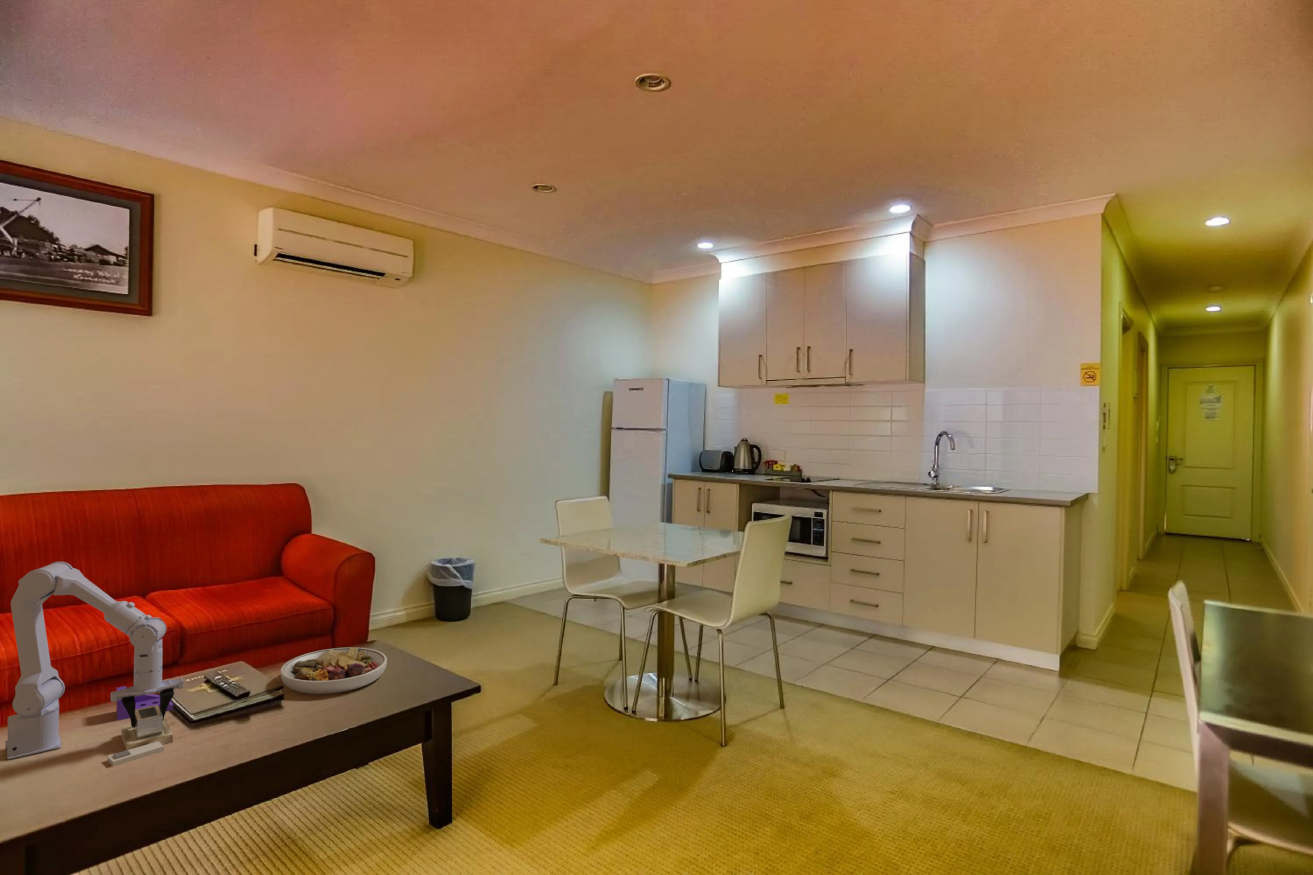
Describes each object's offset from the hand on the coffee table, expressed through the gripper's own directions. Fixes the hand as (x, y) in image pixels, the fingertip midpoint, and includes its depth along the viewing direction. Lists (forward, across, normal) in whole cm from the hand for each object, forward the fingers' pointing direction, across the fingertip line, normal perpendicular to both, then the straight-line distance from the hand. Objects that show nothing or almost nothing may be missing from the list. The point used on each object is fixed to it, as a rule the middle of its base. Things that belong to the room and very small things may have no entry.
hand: (147, 722), depth 172 cm
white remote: (+4, -3, -9) cm, 10 cm away
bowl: (+5, +49, +13) cm, 51 cm away
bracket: (+4, +2, +20) cm, 20 cm away
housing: (+2, 0, 0) cm, 3 cm away
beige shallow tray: (+4, 0, 0) cm, 4 cm away
